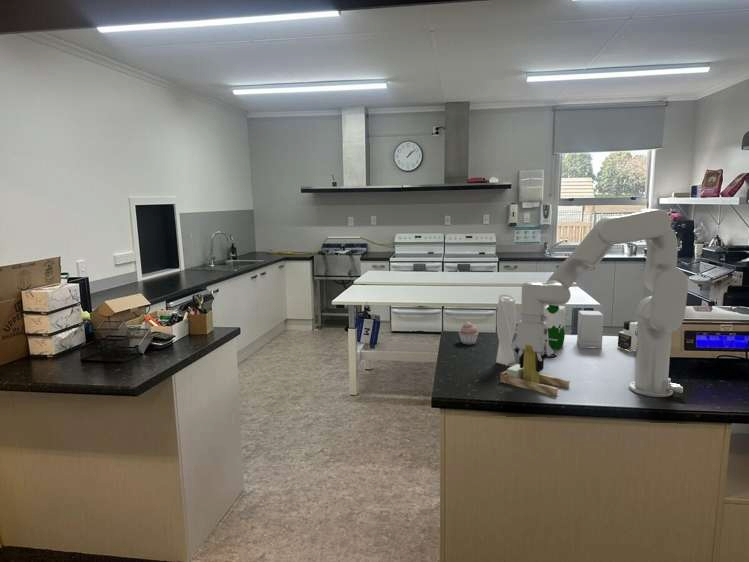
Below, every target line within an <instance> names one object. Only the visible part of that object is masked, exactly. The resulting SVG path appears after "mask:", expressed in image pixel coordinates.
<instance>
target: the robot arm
mask: <svg viewBox="0 0 749 562" xmlns="http://www.w3.org/2000/svg"><path fill="white" fill-rule="evenodd" d="M640 241H645V243H646V244H645V245H646V257H645V258H646V259H645V266H644V274H643V275H644V276H643V283H644V285H645V287H646V288H647V289H648V290H650V291H651V295H650V296H647V297H644V298H643V299H641V301H640V302H639V304H638V305H637V309H636V322H637V324H638V337H637V351H635V353H636V354H635V370H634V381H631V382H629V384H628V386H629V387H628V388H629V389H630V390H631V391H632V392H634V393H636V394H639V395H642V396H647V397H653V398H654V397H655V398H667V397H670V396H672V395H673V392H676V393H681V394H682V393H683V391H684V387H683V386H681V384H677V383H673V382H672V381H671V380H672V379H671V377H669V373H670V357H671V356H670V354H671V348H672V347H671V345H672V343H671V342H672V332H674V331H677V330H678V328H680V327H681V325H682V324H683V322H684V319H685V314H686V306H687V300H688V299H687V298H688V291H689V283H688V277H687V275H686V274H685V272H684V271H683V270H682V269H680V268H679V267H677V266H678V265H677V264H678V249H679V245H678V238H677V236H676V233H675V231H674V229H673V227H672V218H671V216H670V214H669V213H668V212H666V211H665V210H663V209H659V208H641V209H639V210H637V211H636V212H634V213H630V214H626V215H620V216H619V215H618V216H604V217H602V218H600V219H599V220H597V221H596V223H595V224H594V225H593V227H592V228H591V229H590V230H589V232H588V233H587V235H586V236H585V237H584V238H583V239H582V240H581V242H580V243H579V244H578V245H577V247H576V248H575V249H574V250H573V252H571V253H570V255H568V256H567V257H566V259H564V261H563V262H562V263H561V264H560V265H559V266H558V267H557V268H556V269H555V271H554V272H553V273H552V274H551V276H550V277H549V278H548V279H547V281H546V282H545V284H544V283H543V282H539V281H526V282H524V283H523V284H522V285H521V302H520V303H521V305H520V306H521V307H520V310H521V311H520V320H519V321H518V325H517V330H516V337H515V340H514V341H512V344H511V346H512V347H513V350H514V352H517V354H518V356H519V365H520V368H523V357H524V349H525V347H526V346H525V345H528V346H532V349H533V351H534V352H536V353H537V356H538V361H537V372H540V373H541V371H543V369H544V362H545V360H546V359H547V358H548V357H550V356H551V355H552V354H554V349H551V347H550V346H549V338H548V328H547V323H546V322H544V321H547V320H548V317H546V316H545V314H544V307H545V306H546V305H555V306H565V305H566V304H567V303H568V302H570V299H571V296H572V295H571V291H570V288H571V286H572V285H573V284H574V283H575V282H576V281H577V280H578V278H580V277H581V276H583V274H586V273H587V272H589V271H592V270H594V269H595V268H596V267H597V266H598V265H599V264H600V262H601V261H602V260H603V259H604V257H605V256H607V254H608V253H609V252H610V251H611V249H612V248H613V247H614V245H620V244H622V245H623V244H628V243H629V244H630V243H634V242H640ZM544 351H546V352H544Z"/></svg>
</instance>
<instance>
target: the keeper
mask: <svg viewBox="0 0 749 562" xmlns="http://www.w3.org/2000/svg"><path fill="white" fill-rule="evenodd" d="M506 370H507V376H510V377H514V378H518V379H522V373H523V368H520V365H519V364H516V365H514V366H512V367H507V369H506Z"/></svg>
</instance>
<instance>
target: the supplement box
mask: <svg viewBox="0 0 749 562" xmlns="http://www.w3.org/2000/svg"><path fill="white" fill-rule="evenodd" d="M577 313H578V315H577V316H578V317H577V332H576V333H577V335H576V339H577V340H576V344H579V345H578V346H579V348H581V347H595V348H594V349H600V348H602V349H603V334H604V333H603V332H604V331H603V330H604V319H605V318H604V314H603V313H602V312H601V311H600V310H578V312H577Z"/></svg>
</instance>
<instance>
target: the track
mask: <svg viewBox="0 0 749 562" xmlns="http://www.w3.org/2000/svg"><path fill="white" fill-rule="evenodd" d="M499 382H500V383H502V382H503V383H504V384H506V383H507V385H510V384H511V386H515V387H518V388H523V389H527V390H529V389H530V390H531V391H533V390H534V391H533V392H537V391H538V393H543V394H546V395H549V394H550V396H553V395H554V397H558V393H559V392H558V391H559V389H558V387H560V386H562V387H561V388H565V387H566V389H570V382H571V381H570V380H569V379H565V378H560V377H556V376H551V375H547V374H543V373H540V384H539V383H535V382H531V381H526V380H522V379H518V378H514V377H510V376H507V369H506V370H505V371H502V372H500V380H499ZM542 383H544V384H542ZM548 384H549V385H548ZM551 385H553V386H551ZM556 385H557V387H554V386H556ZM530 390H529V391H530Z"/></svg>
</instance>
